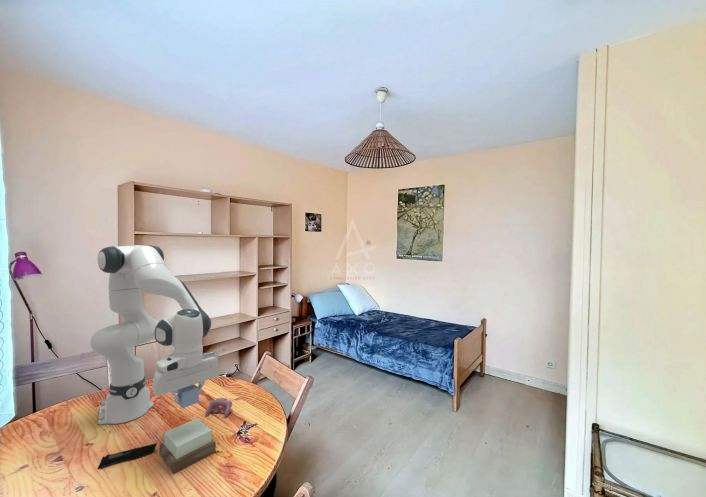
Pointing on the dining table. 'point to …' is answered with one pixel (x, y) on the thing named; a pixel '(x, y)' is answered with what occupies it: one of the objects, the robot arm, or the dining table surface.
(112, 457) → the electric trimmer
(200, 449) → the walnut slab
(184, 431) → the sage slab
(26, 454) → the dining table surface
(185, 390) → the blue cube
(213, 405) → the video game controller
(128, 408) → the robot arm
